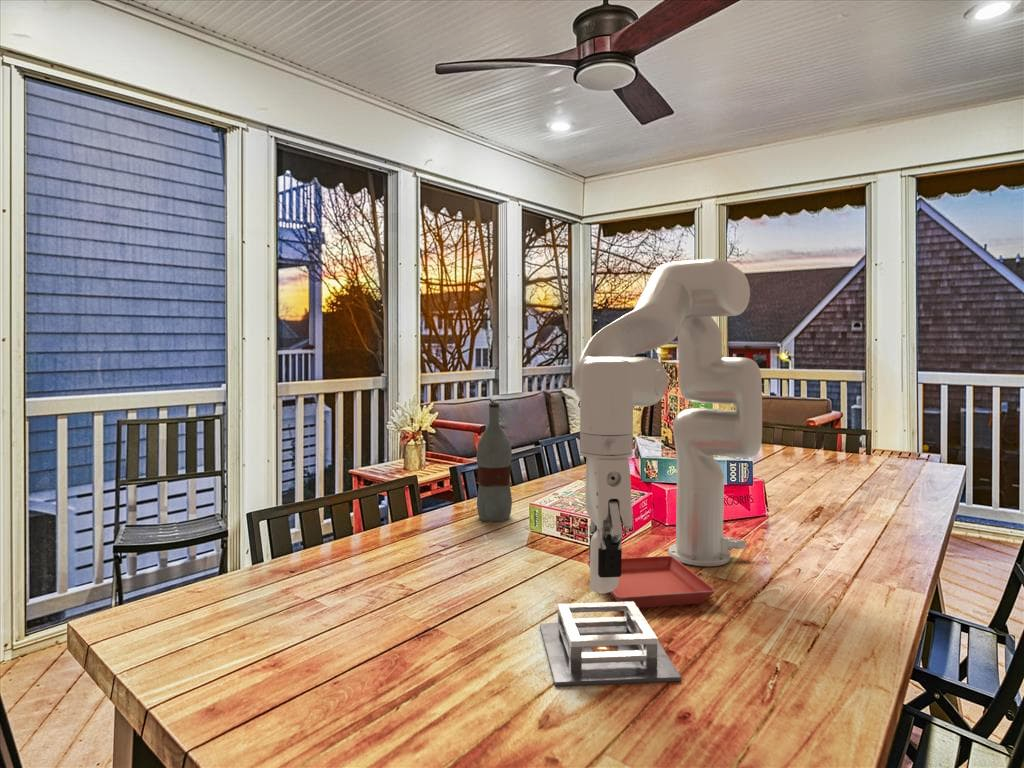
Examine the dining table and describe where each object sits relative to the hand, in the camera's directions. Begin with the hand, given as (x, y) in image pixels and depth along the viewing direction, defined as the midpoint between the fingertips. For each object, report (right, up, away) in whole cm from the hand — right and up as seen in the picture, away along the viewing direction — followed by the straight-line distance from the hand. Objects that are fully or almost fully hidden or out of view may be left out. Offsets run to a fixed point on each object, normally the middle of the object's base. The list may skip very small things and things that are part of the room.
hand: (604, 567), depth 88 cm
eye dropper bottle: (0, -3, 0) cm, 3 cm away
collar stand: (0, -13, +1) cm, 13 cm away
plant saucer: (+11, -12, +24) cm, 29 cm away
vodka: (-18, -8, +71) cm, 73 cm away
